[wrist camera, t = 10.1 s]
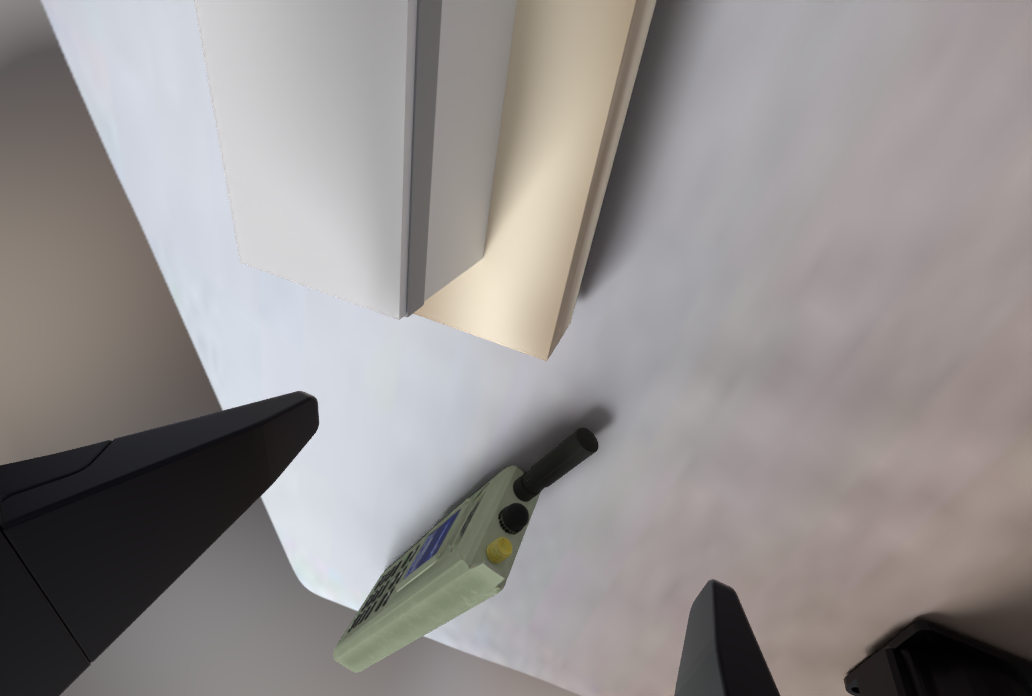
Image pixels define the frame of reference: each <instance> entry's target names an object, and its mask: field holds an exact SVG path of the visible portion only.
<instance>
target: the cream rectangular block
mask: <svg viewBox="0 0 1032 696" xmlns="http://www.w3.org/2000/svg"><path fill="white" fill-rule="evenodd" d="M656 1H657V0H517V5H516V12H515V20H514V27H513V35H512V42H511V50H510V58H509V65H508V73H507V80H506V88H505V96H504V103H503V111H502V118H501V126H500V133H499V141H498V149H497V156H496V164H495V171H494V179H493V187H492V194H491V202H490V209H489V217H488V225H487V232H486V240H485V247H484V255H483V259H482V260H480V261H479V262H477V263H476V264H475V265H473V266H472V267H471V268H469V269H468V270H467V271H465V272H464V273H462V274H461V275H460V276H458V277H457V278H456V279H454V280H453V281H452V282H450V283H449V284H447V285H446V286H445V287H443V288H442V289H441V290H439V291H438V292H437V293H435V294H434V295H432V296H431V297H430V298H428V299H427V300H426V301H424V305H423V306H422V307H421V308H419V309H418V310H417V311H415V312H414V313H413V314H416V315H419V316H422V317H425V318H427V319H430V320H433V321H436V322H439V323H441V324H444V325H447V326H450V327H453V328H455V329H458V330H461V331H464V332H467V333H469V334H472V335H475V336H478V337H481V338H483V339H486V340H489V341H492V342H495V343H497V344H500V345H503V346H506V347H509V348H511V349H514V350H517V351H520V352H523V353H525V354H528V355H531V356H534V357H537V358H539V359H542V360H545V361H547V360H548V358H549V357H550V355H551V354H552V352H553V350H554V349H555V347H556V346H557V344H558V342H559V341H560V339H561V338H562V336H563V334H564V333H565V331H566V330H567V328H568V326H569V325H570V323H571V319H572V315H573V312H574V308H575V304H576V300H577V297H578V293H579V289H580V285H581V282H582V278H583V274H584V270H585V267H586V263H587V259H588V255H589V252H590V248H591V244H592V240H593V237H594V233H595V229H596V225H597V222H598V218H599V214H600V210H601V207H602V203H603V199H604V195H605V192H606V188H607V184H608V180H609V177H610V173H611V169H612V165H613V162H614V158H615V154H616V150H617V147H618V143H619V139H620V135H621V132H622V128H623V124H624V121H625V117H626V113H627V109H628V106H629V102H630V98H631V94H632V91H633V87H634V83H635V79H636V76H637V72H638V68H639V64H640V61H641V57H642V53H643V49H644V46H645V42H646V38H647V34H648V31H649V27H650V23H651V19H652V16H653V12H654V8H655V4H656Z"/></svg>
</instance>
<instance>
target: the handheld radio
mask: <svg viewBox="0 0 1032 696" xmlns="http://www.w3.org/2000/svg"><path fill="white" fill-rule="evenodd" d="M597 450H598V441H597V439H596V437H595V436H594V434H593V433H592V432H591V431H589V430H588V429H586V428H579V429H578V430H577V431H576V432H574V433H573V434H572V435H571V436H569V437H568V438H567V439H566V440H564V441H563V442H562V443H561V444H560V445H558V446H557V447H556V448H555V449H553V450H552V451H551V452H550V453H549V454H547V455H546V456H545V457H544V458H542V459H541V460H540V461H539V462H537V463H536V464H535V465H534V466H533V467H532V468H531V470H530V471H529V472H528V473H524V472H523V471H522V470H520V469H519V468H518V467H517V466H513V465H511V466H508V467H506V468H505V469H503V470H502V471H501V472H500V473H498V474H497V475H496V476H495V477H494V478H492V479H491V480H490V481H489V482H488V483H487V484H485V485H484V486H483V487H482V488H481V489H479V490H478V491H477V492H476V493H475V494H474V495H472V496H471V497H470V498H467V499H466V500H465V501H464V502H463V503H462V504H461V505H459V506H458V507H457V508H456V509H455V510H454V511H452V512H451V513H450V514H449V515H448V516H447V517H446V518H444V519H443V520H442V521H441V522H440V523H439V524H438V525H436V526H435V527H434V528H433V529H432V530H431V531H430V532H427V535H426V536H424V537H423V538H422V539H421V540H420V541H419V542H418V543H417V544H415V545H414V546H413V547H412V548H411V549H410V550H409V551H407V552H406V553H405V554H404V555H403V556H402V557H401V558H400V559H398V560H397V561H396V562H395V563H394V564H393V565H392V566H390V567H389V568H388V569H387V570H386V571H385V572H384V573H383V574H382V575H381V576H380V578H379V580H378V581H377V583H376V584H375V586H374V587H373V589H372V591H371V592H370V594H369V595H368V597H367V598H366V600H365V602H364V603H363V605H362V606H361V608H360V609H359V611H358V613H357V614H356V616H355V617H354V619H353V621H352V622H351V624H350V625H349V627H348V628H347V630H346V631H345V633H344V635H343V636H342V638H341V640H340V641H339V643H338V644H337V646H336V647H335V649H334V660H335V661H337V662H338V663H340V664H341V665H343V666H344V667H346V668H348V669H349V670H351V671H352V672H360V671H362V670H364V669H366V668H368V667H369V666H371V665H373V664H374V663H376V662H378V661H380V660H381V659H383V658H385V657H387V656H388V655H390V654H392V653H394V652H396V651H397V650H399V649H401V648H402V647H404V646H406V645H408V644H409V643H411V642H413V641H415V640H417V639H418V638H420V637H422V636H424V635H425V634H427V633H429V632H431V631H432V630H434V629H436V628H438V627H439V626H441V625H443V624H445V623H446V622H448V621H450V620H452V619H453V618H455V617H457V616H459V615H460V614H462V613H464V612H466V611H467V610H469V609H471V608H473V607H474V606H476V605H478V604H480V603H481V602H483V601H485V600H487V599H488V598H490V597H492V596H494V595H495V594H497V593H499V592H500V591H501V590H502V589H503V588H504V586H505V583H506V580H507V578H508V575H509V573H510V570H511V567H512V565H513V562H514V560H515V557H516V554H517V552H518V549H519V547H520V544H521V541H522V539H523V536H524V534H525V531H526V528H527V526H528V523H529V521H530V518H531V515H532V513H533V510H534V508H535V505H536V503H537V500H538V497H539V495H540V491H541V490H542V489H543V488H544V487H548V486H550V485H551V484H552V483H554V482H555V481H556V480H558V479H559V478H561V477H562V476H563V475H565V474H566V473H567V472H569V471H570V470H571V469H573V468H574V467H575V466H577V465H578V464H580V463H581V462H582V461H584V460H585V459H586V458H588V457H589V456H590V455H592V454H593V453H595V452H596V451H597Z"/></svg>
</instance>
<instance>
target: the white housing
mask: <svg viewBox="0 0 1032 696" xmlns="http://www.w3.org/2000/svg"><path fill="white" fill-rule="evenodd" d="M194 3H195V9H196V14H197V20H198V26H199V31H200V37H201V43H202V48H203V54H204V60H205V65H206V71H207V77H208V82H209V88H210V94H211V99H212V105H213V111H214V117H215V122H216V128H217V134H218V139H219V145H220V151H221V156H222V162H223V168H224V173H225V179H226V185H227V190H228V196H229V202H230V207H231V213H232V219H233V224H234V230H235V236H236V241H237V247H238V253H239V259H240V263H243V264H245V265H248V266H251V267H254V268H256V269H259V270H262V271H265V272H267V273H270V274H273V275H276V276H279V277H281V278H284V279H287V280H290V281H292V282H295V283H298V284H301V285H303V286H306V287H309V288H312V289H315V290H317V291H320V292H323V293H326V294H328V295H331V296H334V297H337V298H339V299H342V300H345V301H348V302H351V303H353V304H356V305H359V306H362V307H364V308H367V309H370V310H373V311H376V312H378V313H381V314H384V315H387V316H389V317H392V318H395V319H398V320H400V319H401V318H402V317H404V316H405V317H409V316H410V315H411V314H413V313H414V312H415V311H417V310H418V309H419V308H421V307H422V306H423V305H424V301H426V300H427V299H428V298H430V297H431V296H432V295H434V294H435V293H437V292H438V291H439V290H441V289H442V288H443V287H445V286H446V285H447V284H449V283H450V282H452V281H453V280H454V279H456V278H457V277H458V276H460V275H461V274H462V273H464V272H465V271H467V270H468V269H469V268H471V267H472V266H473V265H475V264H476V263H477V262H479V261H480V260H482V259H483V255H484V247H485V240H486V232H487V225H488V217H489V209H490V202H491V194H492V187H493V179H494V171H495V164H496V156H497V149H498V141H499V133H500V126H501V118H502V111H503V103H504V96H505V88H506V80H507V73H508V65H509V58H510V50H511V42H512V35H513V27H514V20H515V12H516V5H517V0H194Z"/></svg>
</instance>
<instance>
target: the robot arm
mask: <svg viewBox="0 0 1032 696" xmlns="http://www.w3.org/2000/svg"><path fill="white" fill-rule="evenodd" d="M318 426H319V413H318V401H317V399H316V397H314V396H312V395H310V394H308V393H306V392H303V391H297V392H293V393H289V394H285V395H281V396H277V397H273V398H270V399H266V400H262V401H258V402H254V403H250V404H246V405H243V406H239V407H235V408H231V409H227V410H223V411H220V412H216V413H212V414H208V415H205V416H200V417H196V418H193V419H189V420H185V421H181V422H177V423H173V424H170V425H166V426H162V427H158V428H154V429H150V430H147V431H143V432H139V433H135V434H131V435H127V436H124V437H119V438H116V439H114V440H113V441H111V440H107V441H104V442H100V443H97V444H92V445H89V446H84V447H80V448H76V449H72V450H68V451H64V452H60V453H56V454H51V455H47V456H42V457H38V458H33V459H29V460H24V461H19V462H15V463H10V464H5V465H0V696H60V695H61V694H62V693H63V692H64V691H65V690H66V689H67V688H68V687H69V686H70V685H71V684H72V683H73V682H74V681H75V680H76V679H77V678H78V677H79V676H80V675H81V674H82V673H83V672H84V671H85V670H86V669H87V668H88V667H89V666H90V664H91V662H93V661H95V660H96V658H97V657H98V656H100V655H101V654H102V653H103V652H104V651H105V649H107V648H108V647H109V646H110V645H111V644H112V643H113V642H114V641H115V640H116V639H117V638H118V637H119V636H120V635H121V634H122V633H123V632H124V631H125V630H126V629H127V628H128V627H129V626H130V625H131V624H132V623H133V622H134V621H135V620H136V619H137V618H138V617H139V616H140V615H141V614H142V613H143V612H144V611H145V610H146V609H147V608H148V607H149V606H150V605H151V604H152V603H153V602H154V601H155V600H156V599H157V598H158V597H159V596H160V595H161V594H162V593H163V592H164V591H165V590H166V589H167V588H168V587H169V586H170V585H171V584H172V583H173V582H174V581H175V580H176V579H177V578H178V577H179V576H180V575H181V574H182V573H183V572H184V571H185V570H187V569H188V568H189V567H190V566H191V564H193V563H194V562H195V561H196V560H197V559H198V558H199V557H200V556H201V555H202V554H203V553H204V552H205V551H206V550H207V549H208V548H209V547H210V546H211V545H212V544H213V543H214V542H215V541H216V540H217V539H218V538H219V537H220V536H221V535H222V534H223V533H224V532H225V531H226V530H227V529H228V528H229V527H230V526H231V525H232V524H233V523H234V522H235V521H236V520H237V519H238V518H239V517H240V516H241V515H242V514H243V513H244V512H245V511H246V510H247V509H248V508H249V507H250V506H251V505H252V504H253V503H254V502H255V501H256V500H257V499H258V498H259V497H260V496H261V495H262V494H263V493H264V492H265V491H266V490H267V489H268V488H269V487H270V486H271V485H272V484H273V483H274V482H275V481H276V479H277V478H278V477H279V476H280V475H281V474H282V472H283V471H284V470H285V469H286V468H287V466H288V465H289V464H290V463H291V462H292V460H293V459H294V458H295V457H296V456H297V454H298V453H299V452H300V451H301V450H302V448H303V447H304V446H305V445H306V444H307V442H308V441H309V440H310V439H311V438H312V436H313V435H314V434H315V433H316V431H317V429H318ZM844 683H845V688H846V691H847V692H848V693H850V694H852V695H854V696H1032V664H1031V663H1029V662H1026V661H1024V660H1021V659H1019V658H1017V657H1014V656H1012V655H1009V654H1007V653H1004V652H1002V651H1000V650H997V649H995V648H992V647H990V646H987V645H985V644H982V643H980V642H978V641H975V640H973V639H970V638H968V637H965V636H963V635H960V634H958V633H956V632H953V631H951V630H948V629H946V628H943V627H941V626H939V625H936V624H934V623H931V622H927V621H919V622H915V623H913V624H912V625H910V626H909V627H908V628H907V629H905V630H904V631H903V632H902V633H900V634H899V635H898V636H897V637H895V638H894V639H893V640H892V641H890V642H889V643H888V644H886V645H885V646H884V647H883V648H881V649H880V650H879V651H878V652H876V653H875V654H874V655H873V656H871V657H870V658H869V659H868V660H866V661H865V662H864V663H862V664H861V665H860V666H859V667H857V668H856V669H855V670H854V671H852V672H851V673H850V674H849V675H847V676H846V677H845V678H844ZM674 696H780V694H779V691H778V689H777V687H776V685H775V682H774V680H773V678H772V675H771V673H770V671H769V668H768V666H767V664H766V661H765V659H764V657H763V654H762V652H761V650H760V647H759V645H758V643H757V640H756V638H755V636H754V633H753V631H752V629H751V626H750V624H749V622H748V619H747V617H746V615H745V612H744V610H743V608H742V605H741V603H740V601H739V598H738V596H737V594H736V592H735V591H734V589H733V588H731V587H730V586H727V585H725V584H723V583H721V582H719V581H717V580H714V579H712V580H709V581H708V582H707V584H706V585H705V586H704V588H703V589H702V591H701V592H700V594H699V595H698V596H697V598H696V599H695V601H694V602H693V605H692V607H691V610H690V614H689V619H688V625H687V630H686V635H685V641H684V646H683V651H682V657H681V662H680V667H679V673H678V678H677V683H676V689H675V695H674Z"/></svg>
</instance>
